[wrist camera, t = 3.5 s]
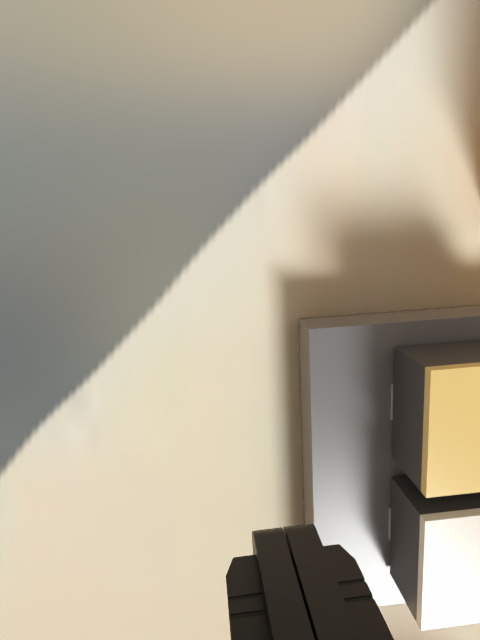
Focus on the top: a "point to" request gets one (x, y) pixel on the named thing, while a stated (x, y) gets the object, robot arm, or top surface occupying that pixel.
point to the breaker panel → (360, 425)
